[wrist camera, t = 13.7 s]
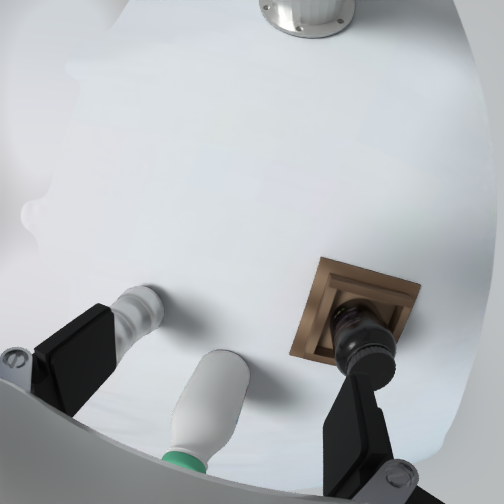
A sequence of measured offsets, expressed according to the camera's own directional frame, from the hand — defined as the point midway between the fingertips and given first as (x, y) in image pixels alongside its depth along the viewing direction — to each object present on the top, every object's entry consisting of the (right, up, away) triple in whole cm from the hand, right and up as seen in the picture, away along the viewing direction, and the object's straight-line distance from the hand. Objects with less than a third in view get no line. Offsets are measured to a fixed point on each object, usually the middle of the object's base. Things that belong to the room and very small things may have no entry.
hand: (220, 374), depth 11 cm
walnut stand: (+15, -4, +26) cm, 31 cm away
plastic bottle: (-14, -3, +31) cm, 34 cm away
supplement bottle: (+14, -4, +26) cm, 30 cm away
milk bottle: (-3, -13, +31) cm, 34 cm away
